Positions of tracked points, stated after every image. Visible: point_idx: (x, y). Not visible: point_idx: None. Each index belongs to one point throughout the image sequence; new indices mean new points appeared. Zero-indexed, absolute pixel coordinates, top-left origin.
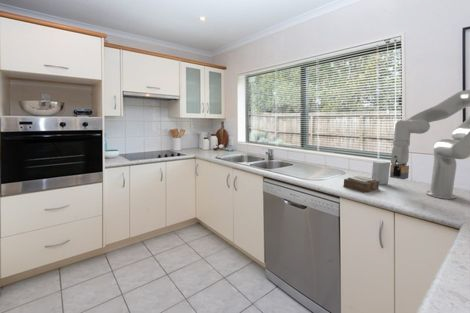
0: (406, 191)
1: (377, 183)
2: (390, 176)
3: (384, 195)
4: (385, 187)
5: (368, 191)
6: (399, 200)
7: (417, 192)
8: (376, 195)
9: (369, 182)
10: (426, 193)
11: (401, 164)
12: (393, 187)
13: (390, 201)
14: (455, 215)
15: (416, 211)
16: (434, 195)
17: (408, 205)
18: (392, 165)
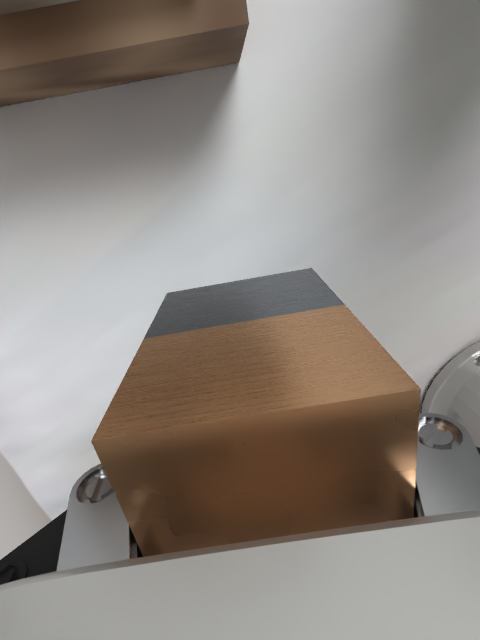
0: (418, 242)
1: (206, 42)
2: (167, 302)
3: (107, 262)
4: (393, 34)
5: (32, 100)
6: (120, 383)
7: (463, 294)
8: (28, 237)
9: (13, 26)
10: (470, 346)
11: (473, 499)
12: (473, 78)
13: (31, 380)
14: None
15: (49, 516)
16: (428, 412)
17: (90, 455)
18: (112, 478)
